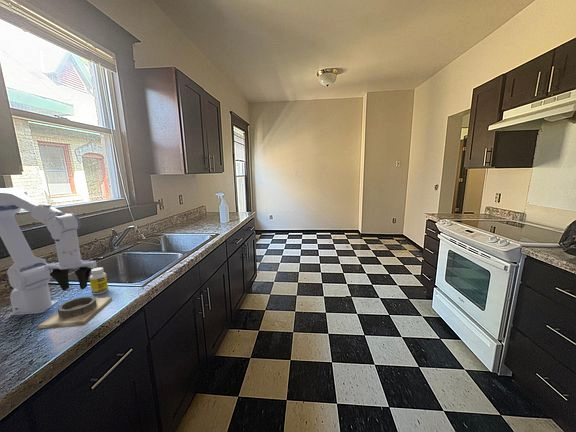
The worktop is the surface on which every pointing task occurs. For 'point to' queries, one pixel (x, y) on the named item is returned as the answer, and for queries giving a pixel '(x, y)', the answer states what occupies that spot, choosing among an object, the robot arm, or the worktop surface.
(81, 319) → the socket plate
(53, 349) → the worktop surface
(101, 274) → the supplement bottle
